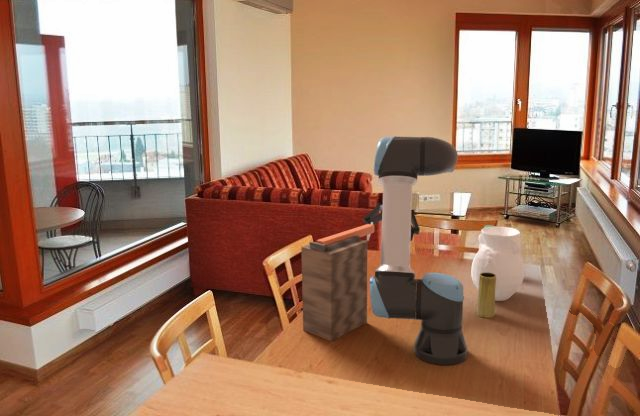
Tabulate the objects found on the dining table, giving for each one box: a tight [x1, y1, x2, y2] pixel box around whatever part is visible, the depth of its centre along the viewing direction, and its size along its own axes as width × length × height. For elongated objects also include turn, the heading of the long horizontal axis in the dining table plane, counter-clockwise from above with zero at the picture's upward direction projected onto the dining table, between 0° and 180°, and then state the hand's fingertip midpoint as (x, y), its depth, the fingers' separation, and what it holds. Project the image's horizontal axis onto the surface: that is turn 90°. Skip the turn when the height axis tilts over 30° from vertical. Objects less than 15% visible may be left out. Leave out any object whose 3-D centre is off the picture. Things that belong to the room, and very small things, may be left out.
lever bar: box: [316, 224, 375, 246], centre depth 182 cm, size 26×3×3 cm, turn 138°
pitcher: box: [470, 225, 525, 302], centre depth 205 cm, size 19×18×25 cm
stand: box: [300, 236, 368, 342], centre depth 181 cm, size 18×12×30 cm, turn 138°
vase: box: [475, 272, 496, 319], centre depth 190 cm, size 6×6×14 cm
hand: (386, 242), depth 197 cm, fingers open, 13 cm apart
